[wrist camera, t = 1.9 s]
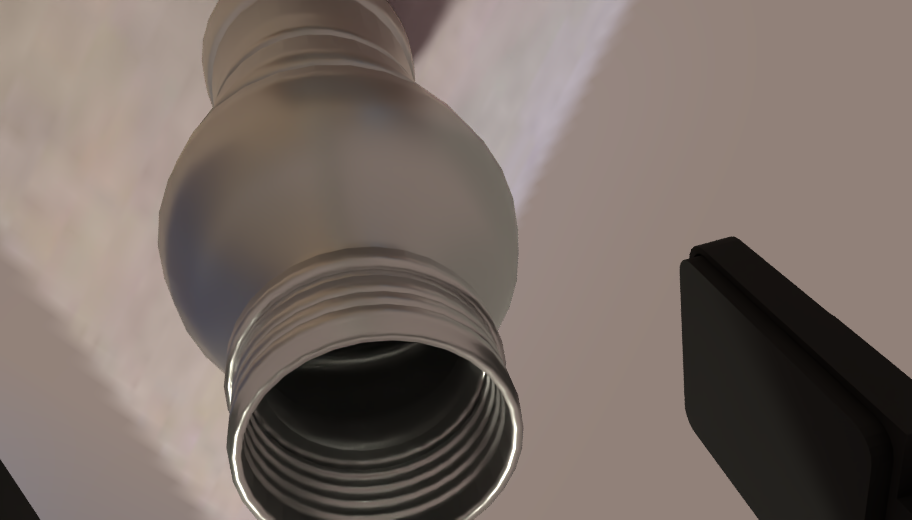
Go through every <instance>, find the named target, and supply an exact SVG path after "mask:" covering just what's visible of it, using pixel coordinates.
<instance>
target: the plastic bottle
mask: <svg viewBox="0 0 912 520" xmlns="http://www.w3.org/2000/svg"><path fill="white" fill-rule="evenodd" d="M202 65H203V71H204V78H205V84H206V88H207V92H208V96H209V98H210V101H211V104H212V107H213V108H212V109H211V111H210V112H209V113H208V114H207V116H206V117H205V118H204V120H203V121H202V122H201V123H200V125H199V126H198V127H197V128H196V129H195V131H194V132H193V133H192V135H191V137H190V138H189V140H188V142H187V144H186V146H185V147H184V149H183V151H182V153H181V155H180V156H179V158H178V160H177V162H176V164H175V167H174V169H173V171H172V173H171V175H170V177H169V179H168V182H167V186H166V189H165V193H164V197H163V200H162V204H161V207H160V211H159V227H158V249H159V254H160V259H161V264H162V269H163V274H164V279H165V281H166V284H167V286H168V289H169V291H170V294H171V296H172V299H173V302H174V304H175V306H176V308H177V311H178V313H179V315H180V317H181V320H182V322H183V324H184V326H185V328H186V331H187V332H188V334H189V335H190V336H191V338H192V339H193V340H194V342H195V343H196V344H197V346H198V347H199V348H200V350H201V351H202V352H203V354H204V355H205V356H206V357H207V358H208V359H209V360H210V361H211V362H212V363H213V364H215V365H216V366H217V367H218V368H219V369H220V370H221V371H222V372H223V373H225V381H224V390H225V395H226V401H227V407H228V411H229V413H230V415H229V424H228V435H227V453H228V458H229V464H230V469H231V474H232V480H233V483H234V485H235V487H236V489H237V491H238V493H239V495H240V497H241V499H242V502H243V503H244V504H245V505H246V506H247V508H248V509H249V510H250V511H251V512H252V514H253V515H254V516H255V517H256V519H257V520H474V519H475V518H476V517H477V516H478V515H480V514H481V513H482V512H483V511H484V510H486V509H487V508H488V507H489V506H490V505H491V504H492V502H493V501H494V500H495V499H496V498H497V497H498V495H499V494H500V493H501V492H502V491H503V489H504V488H505V486H506V485H507V483H508V481H509V479H510V477H511V476H512V474H513V472H514V471H515V469H516V465H517V462H518V459H519V456H520V453H521V449H522V439H523V422H522V415H521V409H520V403H519V398H518V394H517V392H516V390H515V387H514V385H513V383H512V381H511V378H510V376H509V374H508V372H507V369H506V361H505V355H504V350H503V344H502V340H501V338H500V336H499V334H498V329H499V327H500V325H501V323H502V321H503V319H504V317H505V315H506V313H507V311H508V309H509V307H510V303H511V300H512V296H513V293H514V289H515V285H516V282H517V267H518V227H517V221H516V214H515V208H514V202H513V197H512V194H511V192H510V189H509V187H508V184H507V181H506V179H505V176H504V174H503V171H502V169H501V167H500V166H499V164H498V163H497V161H496V159H495V158H494V156H493V155H492V153H491V152H490V150H489V149H488V147H487V146H486V144H485V143H484V141H483V140H482V139H481V138H480V137H479V136H478V135H477V134H476V133H475V132H474V131H473V130H472V129H471V128H470V127H469V126H468V125H467V124H466V123H465V122H464V121H463V120H462V119H461V118H460V117H459V116H458V115H457V114H456V113H455V112H454V111H453V110H452V109H451V108H450V107H449V106H448V105H447V104H446V103H445V102H443V101H441V100H440V99H438V98H437V97H435V96H434V95H433V94H431V93H430V92H428V91H427V90H425V89H424V88H423V87H421V86H420V85H418V84H417V83H416V82H415V69H414V64H413V58H412V53H411V49H410V44H409V40H408V37H407V35H406V33H405V30H404V28H403V25H402V23H401V21H400V19H399V18H398V16H397V15H396V13H395V12H394V10H393V9H392V7H391V6H390V4H389V3H388V2H387V1H386V0H219V1H218V3H217V5H216V6H215V8H214V10H213V12H212V14H211V16H210V18H209V20H208V23H207V27H206V31H205V34H204V38H203V49H202Z"/></svg>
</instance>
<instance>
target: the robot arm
mask: <svg viewBox="0 0 912 520" xmlns="http://www.w3.org/2000/svg"><path fill="white" fill-rule="evenodd" d="M680 292H681V317H682V344H683V369H684V395H685V410H686V414H687V417H688V420H689V423H690V425H691V427H692V429H693V430H694V432H695V433H696V435H697V436H698V437H699V439H700V440H701V441H702V443H703V444H704V445H705V447H706V448H707V450H708V451H709V452H710V454H711V455H712V456H713V458H714V459H715V460H716V462H717V463H718V465H719V466H720V467H721V469H722V470H723V471H724V473H725V474H726V476H727V477H728V478H729V479H730V481H731V482H732V484H733V485H734V486H735V488H736V489H737V490H738V492H739V493H740V495H741V496H742V497H743V499H744V500H745V501H746V503H747V504H748V506H749V507H750V508H751V509H752V511H753V512H754V514H755V515H756V516H757V518H758V519H759V520H912V379H911V378H910V377H908V376H907V375H906V374H905V373H903V372H902V371H901V370H900V369H899V368H897V367H896V366H895V365H893V364H892V363H891V362H890V361H889V360H888V359H886V358H885V357H884V356H883V355H881V354H880V353H879V352H878V351H876V350H875V349H874V348H873V347H872V346H870V345H869V344H868V343H867V342H865V341H864V340H863V339H862V338H861V337H859V336H858V335H857V334H855V333H854V332H853V331H852V330H851V329H849V328H848V327H847V326H846V325H845V324H843V323H842V322H841V321H840V320H839V319H837V318H836V317H835V316H833V315H831V314H830V313H829V312H827V311H826V310H825V309H824V308H822V307H821V306H820V305H819V304H818V303H816V302H815V301H814V300H813V299H812V298H810V297H809V296H808V295H807V294H805V293H804V292H803V291H802V290H801V289H799V288H798V287H797V286H796V285H794V284H793V283H792V282H791V281H790V280H788V279H787V278H786V277H785V276H783V275H782V274H781V273H780V272H779V271H777V270H776V269H775V268H774V267H772V266H771V265H770V264H769V263H767V262H766V261H765V260H764V259H763V258H761V257H760V256H759V255H758V254H757V253H755V252H754V251H753V250H752V249H750V248H749V247H748V246H747V245H746V244H744V243H743V242H742V241H741V240H739V239H738V238H736V237H727V238H724V239H720V240H716V241H713V242H709V243H705V244H702V245H698V246H694V247H693V248H692V249H691V252H690V258H689V259H686V260H683V261H682V262H681V265H680ZM0 520H40V519H39V517H38V515H37V514H36V512H35V511H34V509H33V508H32V507H31V505H30V504H29V502H28V500H27V499H26V497H25V496H24V494H23V493H22V491H21V490H20V488H19V487H18V485H17V484H16V482H15V481H14V479H13V478H12V476H11V475H10V473H9V472H8V470H7V469H6V467H5V466H4V464H3V463H2V461H1V460H0Z"/></svg>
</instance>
